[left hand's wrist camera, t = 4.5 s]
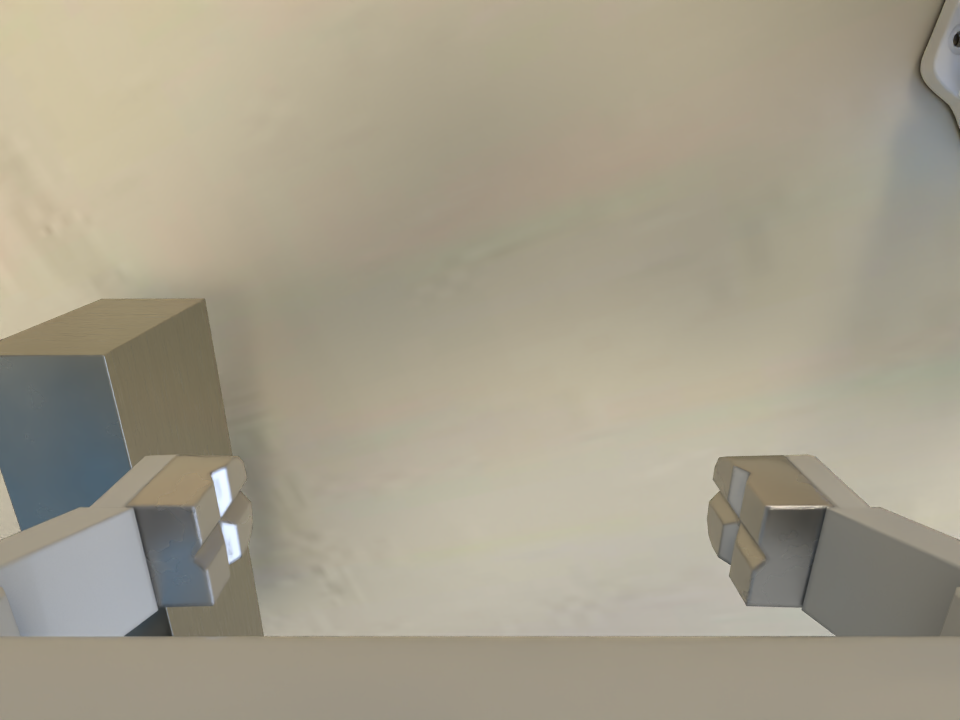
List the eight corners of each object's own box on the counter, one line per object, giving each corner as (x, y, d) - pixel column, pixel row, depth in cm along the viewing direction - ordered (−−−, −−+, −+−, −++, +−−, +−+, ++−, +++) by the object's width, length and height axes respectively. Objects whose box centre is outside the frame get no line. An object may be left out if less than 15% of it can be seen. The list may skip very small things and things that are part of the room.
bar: (101, 298, 30) (-39, 355, 22) (205, 298, 30) (103, 355, 22) (183, 643, 38) (103, 777, 30) (265, 643, 38) (207, 777, 30)
